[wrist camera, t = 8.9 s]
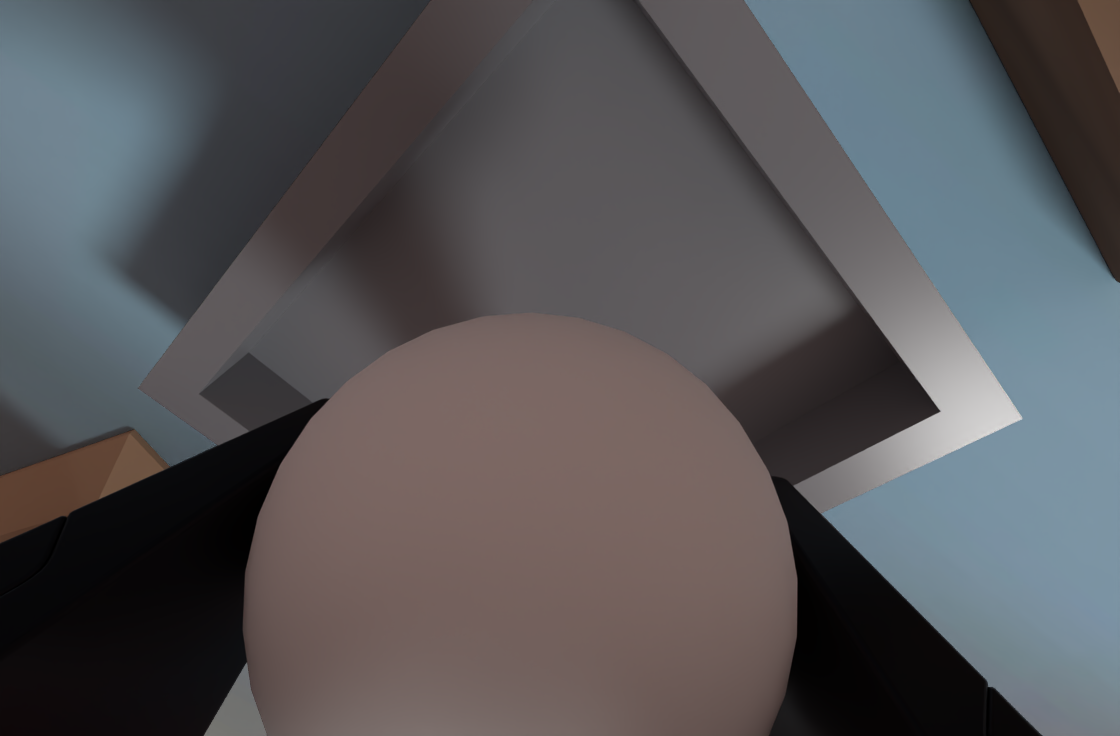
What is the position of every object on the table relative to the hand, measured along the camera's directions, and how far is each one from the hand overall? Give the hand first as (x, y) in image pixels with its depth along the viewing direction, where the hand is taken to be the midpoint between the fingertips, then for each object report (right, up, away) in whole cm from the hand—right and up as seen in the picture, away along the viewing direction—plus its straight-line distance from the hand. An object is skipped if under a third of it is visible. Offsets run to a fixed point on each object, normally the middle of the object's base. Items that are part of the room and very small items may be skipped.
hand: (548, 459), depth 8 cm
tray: (0, +2, +7) cm, 8 cm away
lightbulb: (0, -3, +6) cm, 7 cm away
